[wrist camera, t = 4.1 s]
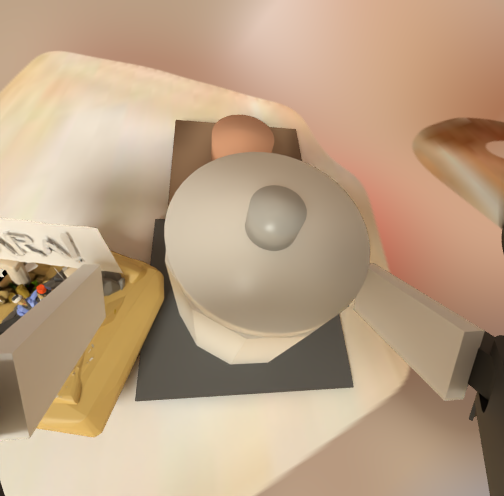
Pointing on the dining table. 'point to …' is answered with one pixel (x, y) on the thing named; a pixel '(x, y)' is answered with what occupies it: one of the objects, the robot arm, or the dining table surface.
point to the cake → (111, 330)
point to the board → (199, 149)
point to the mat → (220, 372)
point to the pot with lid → (262, 254)
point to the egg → (240, 136)
